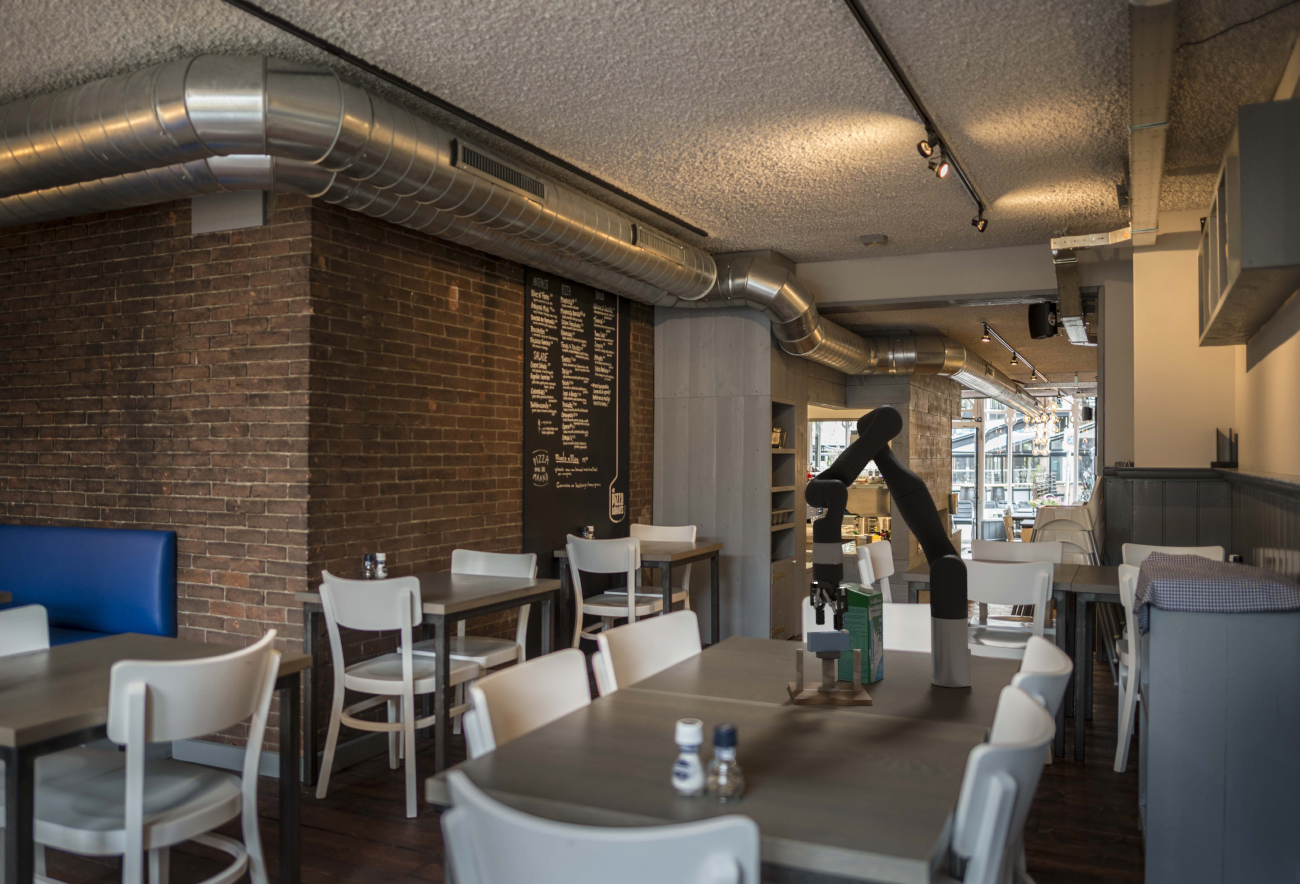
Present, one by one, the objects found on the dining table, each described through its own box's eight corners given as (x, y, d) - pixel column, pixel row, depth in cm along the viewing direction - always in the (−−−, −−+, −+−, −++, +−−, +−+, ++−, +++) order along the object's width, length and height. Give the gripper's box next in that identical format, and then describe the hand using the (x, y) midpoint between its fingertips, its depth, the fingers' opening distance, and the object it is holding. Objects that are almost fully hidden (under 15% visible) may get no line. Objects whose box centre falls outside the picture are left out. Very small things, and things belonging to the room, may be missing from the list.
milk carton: (869, 684, 241) (868, 587, 242) (837, 679, 246) (836, 584, 247) (883, 678, 248) (882, 583, 249) (852, 673, 254) (851, 581, 254)
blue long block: (804, 655, 231) (804, 629, 231) (842, 653, 233) (842, 627, 233) (813, 660, 225) (813, 633, 226) (852, 658, 227) (851, 631, 228)
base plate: (859, 687, 237) (859, 643, 238) (872, 704, 219) (871, 656, 220) (788, 686, 238) (787, 642, 239) (795, 704, 220) (794, 656, 221)
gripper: (800, 559, 235) (801, 624, 234) (829, 563, 222) (830, 632, 221) (826, 558, 238) (827, 622, 237) (856, 562, 224) (858, 630, 224)
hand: (829, 627), depth 229 cm, fingers open, 8 cm apart
